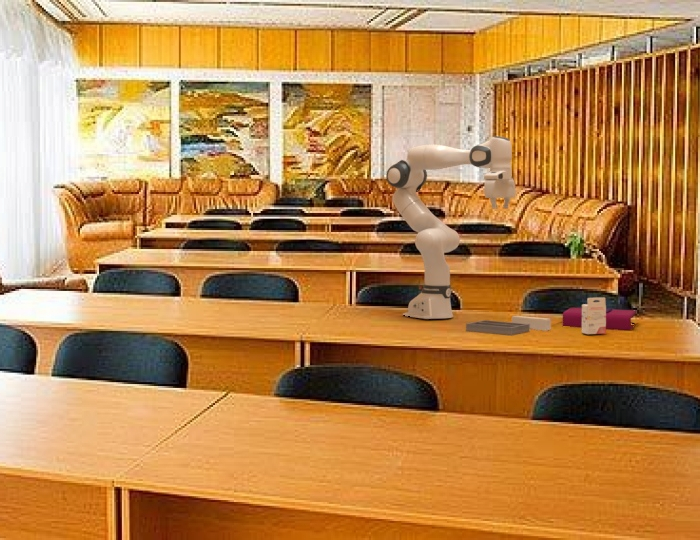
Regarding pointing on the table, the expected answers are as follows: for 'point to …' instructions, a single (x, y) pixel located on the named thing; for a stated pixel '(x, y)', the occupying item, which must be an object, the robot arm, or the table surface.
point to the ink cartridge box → (594, 316)
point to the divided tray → (497, 327)
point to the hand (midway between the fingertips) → (500, 208)
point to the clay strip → (533, 322)
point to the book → (613, 318)
